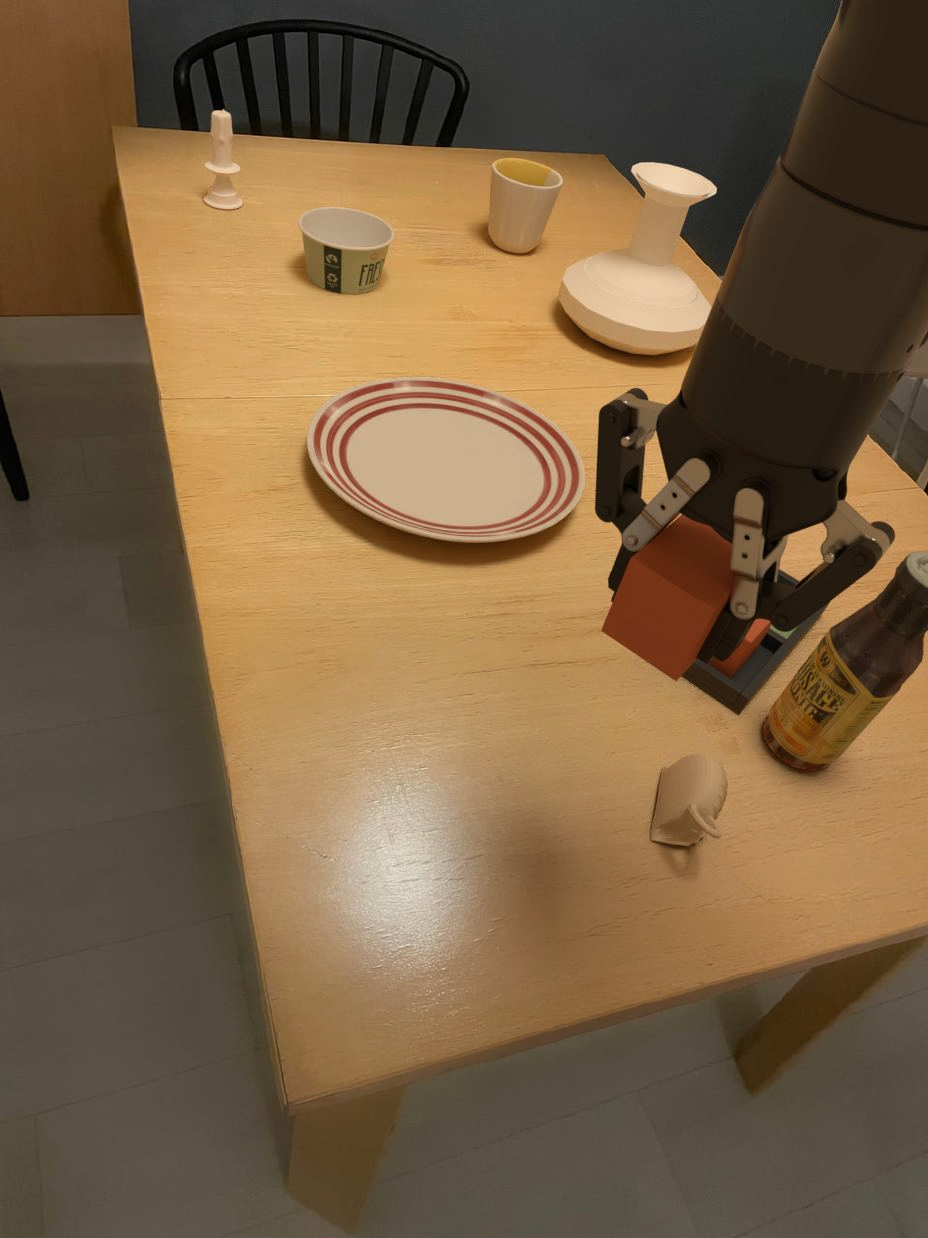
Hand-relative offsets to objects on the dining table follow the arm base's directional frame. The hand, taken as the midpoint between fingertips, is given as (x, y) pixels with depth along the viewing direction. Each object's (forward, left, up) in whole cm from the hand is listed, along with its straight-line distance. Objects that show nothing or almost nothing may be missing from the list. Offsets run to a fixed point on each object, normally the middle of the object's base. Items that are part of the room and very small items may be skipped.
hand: (667, 624), depth 45 cm
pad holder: (+1, -29, -22) cm, 37 cm away
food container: (+69, -46, -22) cm, 86 cm away
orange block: (0, 0, 0) cm, 0 cm away
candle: (+94, -47, -22) cm, 108 cm away
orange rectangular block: (+1, -25, -22) cm, 33 cm away
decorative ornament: (-5, -8, -22) cm, 24 cm away
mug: (+65, -77, -22) cm, 104 cm away
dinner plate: (+33, -25, -22) cm, 47 cm away
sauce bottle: (-9, -22, -22) cm, 32 cm away
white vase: (+39, -69, -22) cm, 83 cm away
